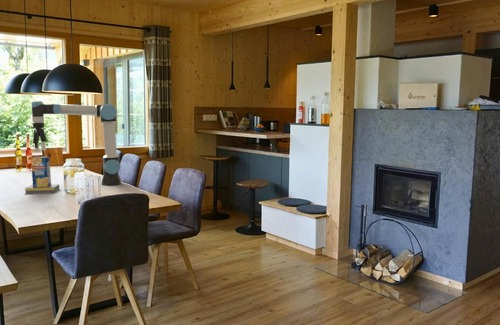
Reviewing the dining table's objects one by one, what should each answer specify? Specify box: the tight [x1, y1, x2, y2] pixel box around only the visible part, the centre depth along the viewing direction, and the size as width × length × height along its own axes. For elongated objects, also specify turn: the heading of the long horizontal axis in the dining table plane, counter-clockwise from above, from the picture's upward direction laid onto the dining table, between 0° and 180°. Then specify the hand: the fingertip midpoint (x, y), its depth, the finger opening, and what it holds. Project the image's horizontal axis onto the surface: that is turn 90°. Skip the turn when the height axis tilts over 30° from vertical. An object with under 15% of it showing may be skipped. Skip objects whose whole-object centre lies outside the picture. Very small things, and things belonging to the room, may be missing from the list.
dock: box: [24, 183, 60, 195], centre depth 333 cm, size 20×14×4 cm
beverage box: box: [30, 156, 52, 187], centre depth 332 cm, size 7×11×22 cm, turn 96°
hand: (40, 151), depth 330 cm, fingers open, 13 cm apart
